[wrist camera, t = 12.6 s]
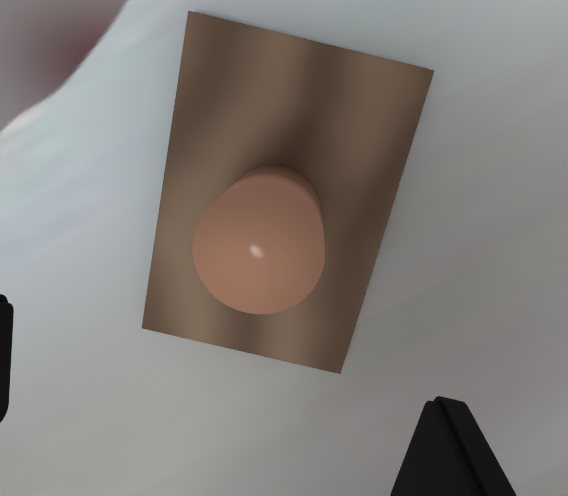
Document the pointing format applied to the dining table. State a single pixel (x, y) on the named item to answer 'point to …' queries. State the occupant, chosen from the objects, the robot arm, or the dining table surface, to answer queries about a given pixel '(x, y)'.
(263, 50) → the serving board
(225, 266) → the cylinder block
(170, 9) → the dining table surface
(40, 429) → the dining table surface
